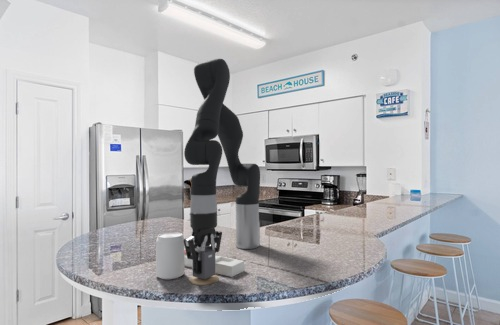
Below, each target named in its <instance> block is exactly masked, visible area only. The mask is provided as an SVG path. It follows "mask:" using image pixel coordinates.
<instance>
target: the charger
mask: <svg viewBox="0 0 500 325" xmlns="http://www.w3.org/2000/svg"><path fill="white" fill-rule="evenodd" d="M215 255H216V253H215V250H213V249H212V250H211V249H205V250H204V252H203V253H202V258H201V261H202V273H201V274H195V273H194V271H193V270H192V276H194V277H198V278H201V279H207V278H209V277H211V276H213V275H216V273H215ZM196 256H198V252H197V255H196Z"/></svg>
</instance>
